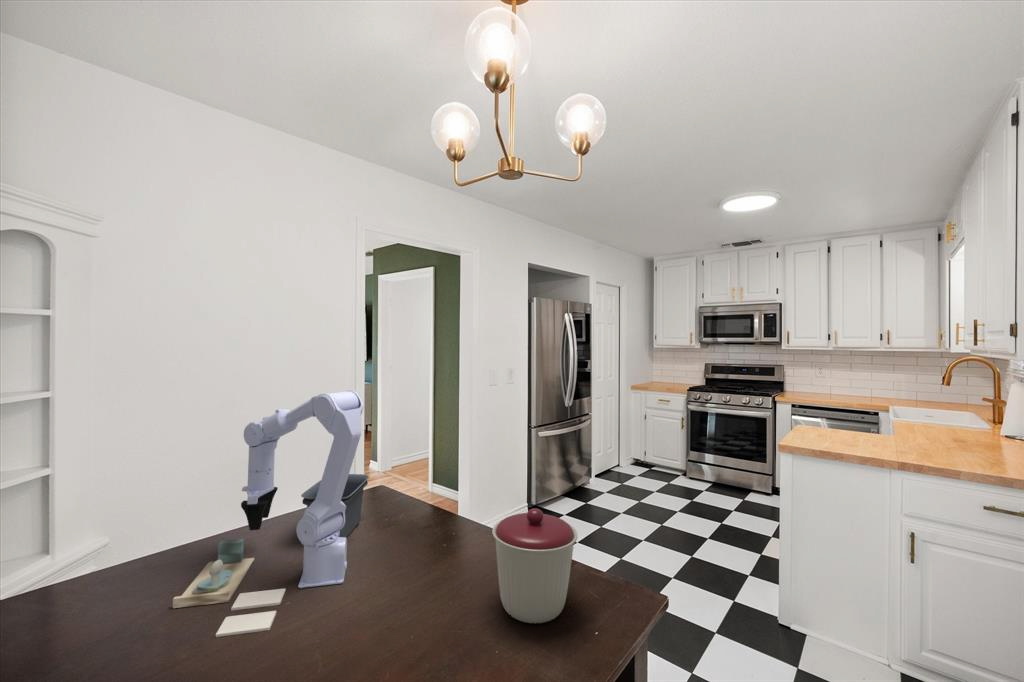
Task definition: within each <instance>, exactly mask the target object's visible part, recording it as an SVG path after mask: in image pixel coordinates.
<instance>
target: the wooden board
mask: <svg viewBox="0 0 1024 682" xmlns="http://www.w3.org/2000/svg"><path fill="white" fill-rule="evenodd" d="M244 545H245V539H244V538H238V539H227V540H226V539H225V540H221V541H219V543H218V545H217V560H222V562H223V567H222V570H221V571H224V570H231V571H232V577H231V579H230V580H229V581H228V582H227V583H226V584H224V585H222V587H221V588H220V589H218V590H216V591H214V592H210V593H206V592H205V593H200V594H195V593H193V589H194V588H195V587H196V586H197V585H198V584H200V583H201V582H203V581H205V580H206V579H208V578H210V577H211V575H210V574H209V571H210V568H211V566H212V565H213V564H214V562H215V561H209V562H208V563H207V564H205V566H204V567H203V569H202V570H201V571H200V572H199V574H198V575H197V576H196V577H195V579H193V581H192V582H191V584H189V586H188V587H187V588H186V590H185V591H184V592H183V593H182V594H181V595H178V596H174V597H173V599H172V609H176V608H179V609H180V608H187V607H196V606H204V605H212V604H221V603H229V602H230V600H231V598H232V597H233V595H234V594H235V592H236V591H237V589H238V587H239V586H240V584H241V582H242V581H243V579H244V578H245V575H247V572H248V571H249V569H250V567H251V566H252V564H253V562H254V561H255V557H250V558H249V557H247V558H244V552H245V550H244V549H245V547H244ZM221 571H220V572H221ZM227 578H228V577H227ZM227 578H225V579H227ZM198 590H203V589H201V588H199V589H198Z"/></svg>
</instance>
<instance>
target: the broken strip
mask: <svg viewBox="0 0 1024 682" xmlns="http://www.w3.org/2000/svg"><path fill="white" fill-rule="evenodd" d="M285 593H286V588H278V589H277V588H275V589H268V590H267V589H266V590H261V591H259V590H258V591H251V592H250V591H249V592H242V593H241V592H240V593H239V595H238V596H237V598H236V599H235V601H234V603H233V605H232V606H231V608H230V609H231V610H230V611H232V612H233V611H239V610H246V609H247V610H248V609H256V608H263V607H264V608H265V607H272V606H279V605H281V603H282V601H283V598H284V595H285ZM276 615H277V610H270V611H264V612H254V613H248V614H238V615H229V616H225V618H224V620H223V621H222V623H221V625H220V627H219V628H218V630H217V631H216V633H215V638H220V637H221V638H222V637H227V636H235V635H243V634H249V633H257V632H264V631H270V630H271V628H272V627H271V626H272V625H273V623H274V620H275V618H276Z"/></svg>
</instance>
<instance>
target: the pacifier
mask: <svg viewBox="0 0 1024 682" xmlns="http://www.w3.org/2000/svg"><path fill="white" fill-rule="evenodd" d="M213 562H214V564H213V565H212V566H211V568H210V571H209V574H210V575H211V577H210V578H208V579H206V580H205V581H203V582H201V583H200V584H198V585H197V586H196V587H195V588H194V589H193V593H195V594H200V593H205V592H206V593H210V592H214V591H216V590H218V589H220V588H221V587H222V585H224V584H226V583H227V582H228V581H229V580H230V579H231V577H232V571H231V570H224V571H221V570H222V567H223V562H222V560H218V559H217V560H215V561H213ZM220 571H221V572H220ZM227 577H228V578H227ZM225 578H227V579H225ZM199 588H201V589H203V590H198V589H199Z"/></svg>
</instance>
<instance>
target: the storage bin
mask: <svg viewBox="0 0 1024 682" xmlns="http://www.w3.org/2000/svg"><path fill="white" fill-rule="evenodd" d="M369 478H370V476H369V475H368V474H363V473H361V474H358V473H349V475H348V479H347V482H346V485H345V489H344V492H343V495H342V498H341V501H342V502H343V503H344V504H345V505H346V510H345V524H344V527H343V528H342V529H341V530H340V535H339V536H338V537H346V538H347V539H348V537H349V535H350V534H351V533H352V532H353V530H355V528H356V527H357V526H358V525H359V523H360V522H361V517H362V506H363V505H362V504H363V496H364V495H363V494H364V488H365V487H366V486H367V485H369V484H368V482H369V481H368V479H369ZM321 480H322V479H321ZM321 480H318V482H316V483H315V484H313V485H312V486H311V487H309V488H308V489H306V490H305V491H304V492H302V494H301V498H303V499H302V502H301V503H302V504H303V505H305V506H306V509H307V508H308V507H309V506H310V505H311V504H312V503H313V502H314V501H315V499H316V496H317V493H318V490H319V486H320V483H321Z"/></svg>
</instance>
